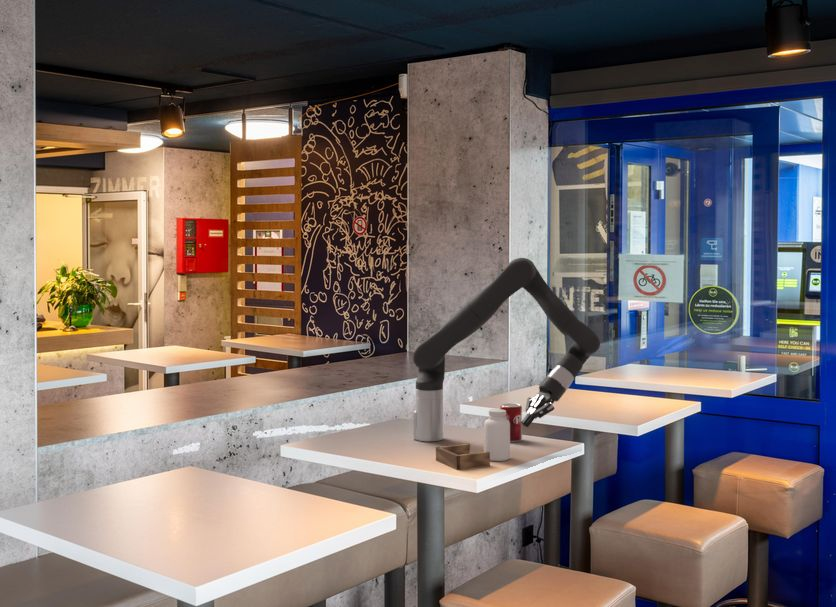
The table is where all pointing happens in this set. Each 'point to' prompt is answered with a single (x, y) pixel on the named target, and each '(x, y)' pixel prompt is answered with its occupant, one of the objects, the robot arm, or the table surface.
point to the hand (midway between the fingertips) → (524, 425)
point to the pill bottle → (497, 435)
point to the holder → (461, 457)
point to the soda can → (514, 420)
